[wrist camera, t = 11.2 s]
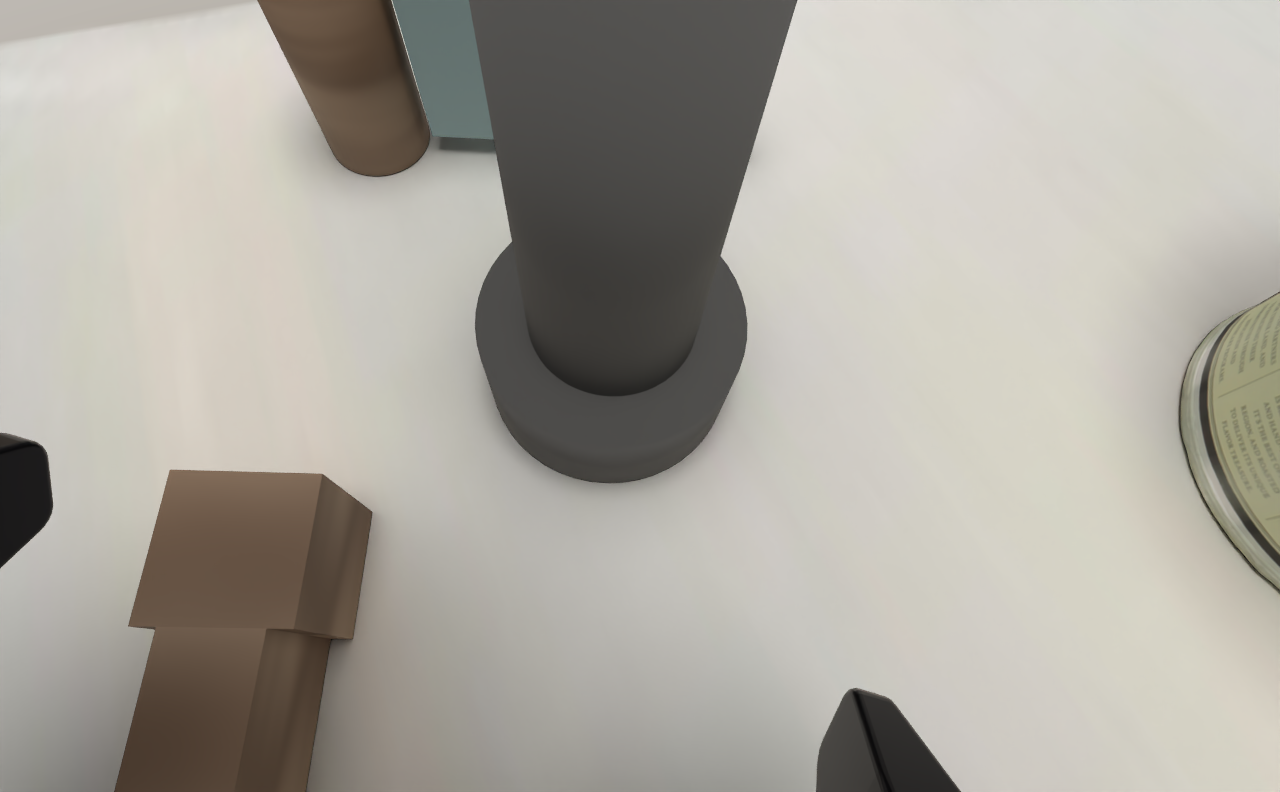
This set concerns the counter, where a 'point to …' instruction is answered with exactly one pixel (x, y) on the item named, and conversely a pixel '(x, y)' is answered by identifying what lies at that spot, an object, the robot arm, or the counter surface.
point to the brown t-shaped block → (267, 499)
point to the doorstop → (619, 220)
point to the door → (446, 66)
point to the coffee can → (1239, 430)
